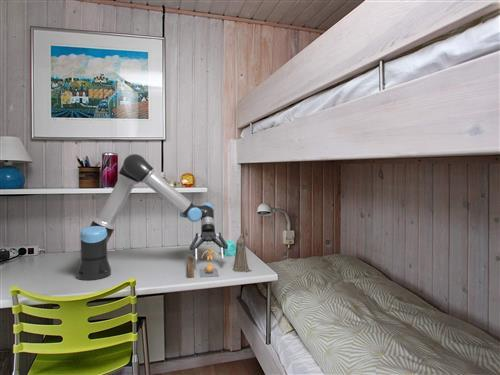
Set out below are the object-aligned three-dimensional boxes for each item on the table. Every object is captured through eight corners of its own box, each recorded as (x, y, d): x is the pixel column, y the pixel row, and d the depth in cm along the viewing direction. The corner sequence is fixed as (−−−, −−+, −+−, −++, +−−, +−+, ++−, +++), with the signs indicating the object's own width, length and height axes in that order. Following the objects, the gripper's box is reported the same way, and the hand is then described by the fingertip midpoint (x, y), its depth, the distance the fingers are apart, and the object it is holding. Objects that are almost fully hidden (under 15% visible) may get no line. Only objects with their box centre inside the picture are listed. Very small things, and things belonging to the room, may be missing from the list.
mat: (200, 277, 159) (200, 276, 159) (199, 270, 171) (199, 269, 171) (219, 276, 161) (219, 275, 161) (216, 269, 172) (216, 268, 172)
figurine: (201, 274, 162) (200, 250, 162) (201, 270, 168) (201, 247, 168) (217, 274, 163) (217, 250, 163) (218, 270, 169) (218, 247, 169)
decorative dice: (237, 254, 204) (237, 241, 204) (228, 257, 198) (228, 243, 198) (228, 252, 209) (228, 240, 209) (219, 254, 203) (219, 242, 203)
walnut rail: (187, 278, 158) (187, 270, 158) (187, 262, 185) (187, 256, 185) (194, 277, 158) (194, 270, 158) (193, 262, 186) (193, 256, 186)
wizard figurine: (251, 267, 176) (251, 221, 175) (252, 272, 168) (252, 223, 167) (232, 267, 176) (232, 221, 175) (232, 272, 168) (232, 223, 166)
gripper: (229, 230, 190) (232, 262, 176) (185, 231, 186) (185, 264, 171) (230, 222, 185) (234, 255, 171) (185, 223, 180) (185, 257, 166)
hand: (209, 260), depth 171 cm, fingers open, 13 cm apart
